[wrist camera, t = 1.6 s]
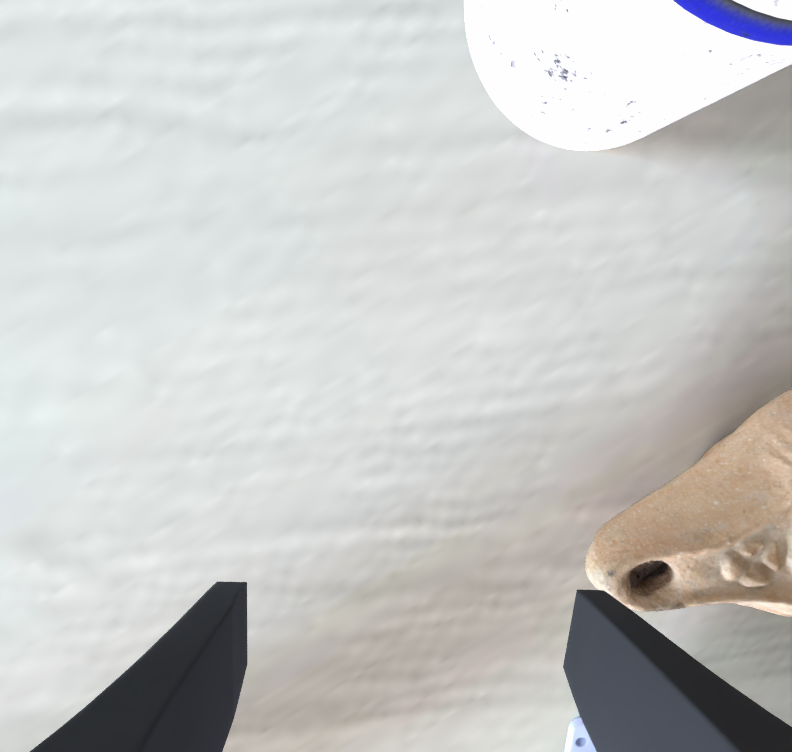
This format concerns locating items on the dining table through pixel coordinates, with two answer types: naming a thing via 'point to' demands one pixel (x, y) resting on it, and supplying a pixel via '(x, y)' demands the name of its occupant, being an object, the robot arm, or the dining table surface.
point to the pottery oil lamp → (710, 527)
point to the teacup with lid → (620, 61)
